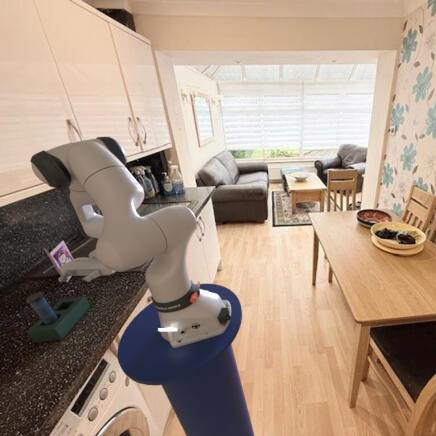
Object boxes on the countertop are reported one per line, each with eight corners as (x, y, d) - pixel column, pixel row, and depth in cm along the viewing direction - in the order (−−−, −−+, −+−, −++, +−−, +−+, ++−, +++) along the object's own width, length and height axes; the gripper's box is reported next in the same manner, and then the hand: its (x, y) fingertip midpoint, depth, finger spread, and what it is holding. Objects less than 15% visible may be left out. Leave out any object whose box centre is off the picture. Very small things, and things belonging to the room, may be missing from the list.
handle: (68, 324, 81) (46, 291, 75) (60, 334, 78) (35, 300, 71) (56, 326, 81) (33, 292, 74) (47, 336, 77) (22, 301, 71)
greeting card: (69, 281, 103) (52, 252, 96) (48, 286, 100) (29, 257, 94) (80, 267, 112) (65, 239, 106) (61, 271, 110) (44, 243, 104)
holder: (90, 305, 89) (84, 295, 87) (62, 339, 76) (54, 328, 74) (67, 308, 88) (61, 298, 86) (35, 343, 75) (26, 332, 73)
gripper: (75, 251, 96) (41, 273, 84) (123, 250, 95) (95, 273, 82) (82, 264, 99) (50, 287, 87) (128, 263, 98) (103, 287, 85)
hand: (73, 280), depth 85 cm, fingers open, 8 cm apart
